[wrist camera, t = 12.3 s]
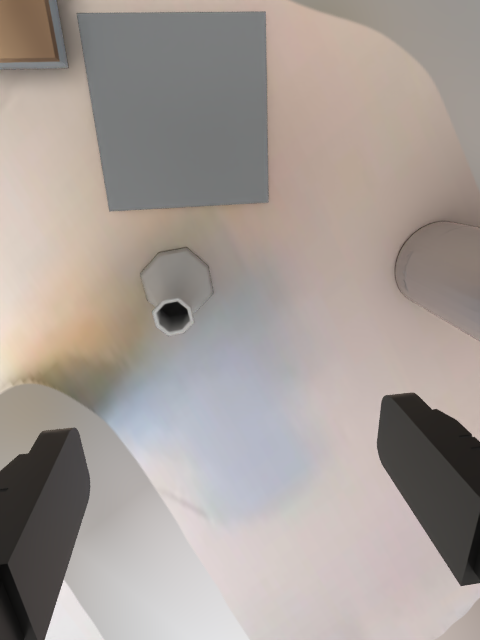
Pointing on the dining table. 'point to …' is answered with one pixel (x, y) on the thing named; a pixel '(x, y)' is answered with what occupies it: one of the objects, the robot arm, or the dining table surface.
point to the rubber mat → (179, 106)
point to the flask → (176, 289)
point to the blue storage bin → (60, 46)
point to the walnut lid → (27, 32)
